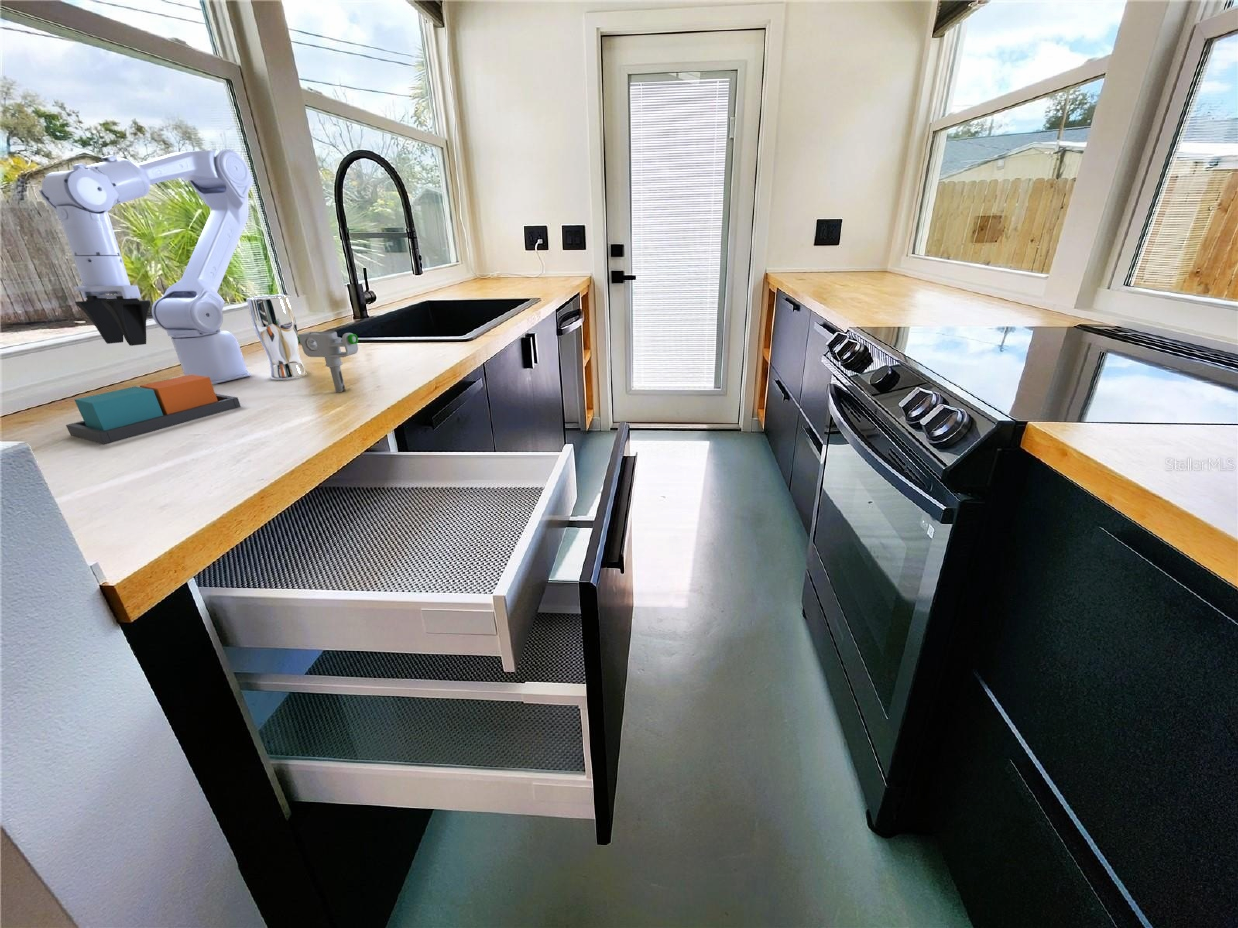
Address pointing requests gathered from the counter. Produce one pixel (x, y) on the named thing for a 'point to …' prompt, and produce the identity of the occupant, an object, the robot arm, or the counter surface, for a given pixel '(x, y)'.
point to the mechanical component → (330, 351)
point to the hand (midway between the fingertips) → (126, 344)
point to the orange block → (182, 393)
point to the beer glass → (277, 335)
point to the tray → (152, 422)
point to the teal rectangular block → (118, 408)
